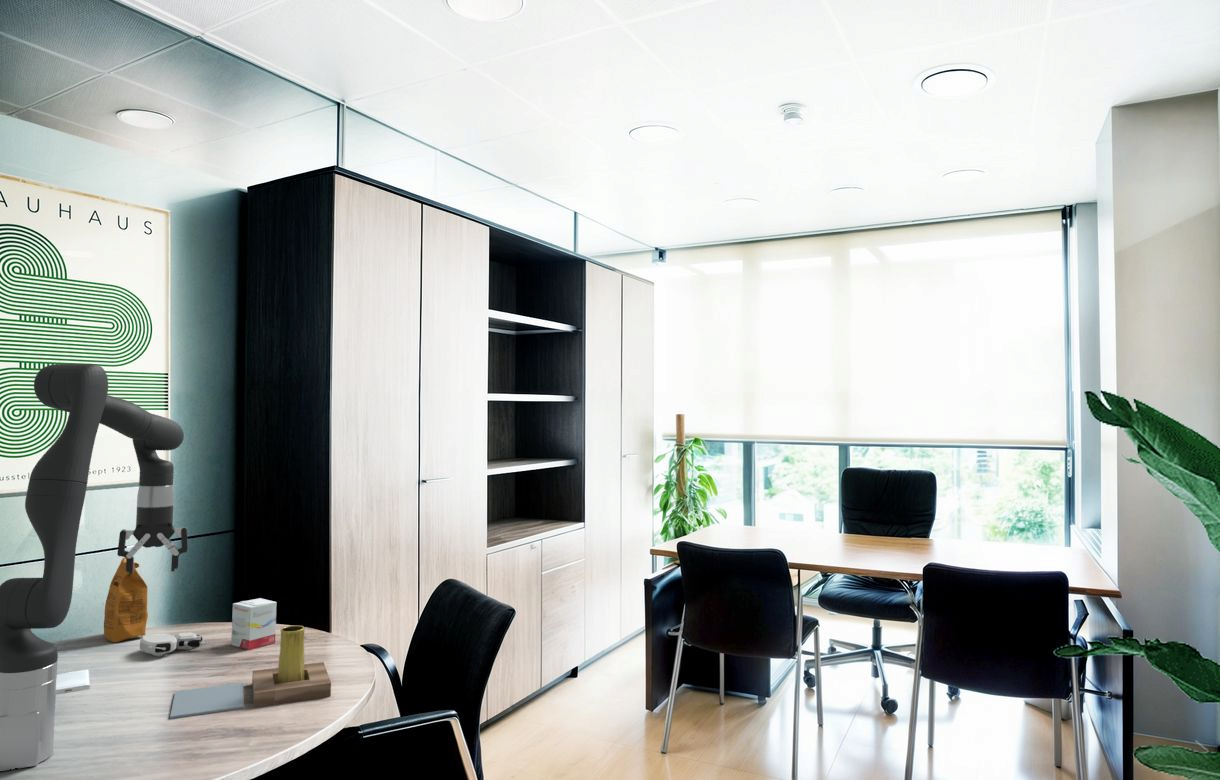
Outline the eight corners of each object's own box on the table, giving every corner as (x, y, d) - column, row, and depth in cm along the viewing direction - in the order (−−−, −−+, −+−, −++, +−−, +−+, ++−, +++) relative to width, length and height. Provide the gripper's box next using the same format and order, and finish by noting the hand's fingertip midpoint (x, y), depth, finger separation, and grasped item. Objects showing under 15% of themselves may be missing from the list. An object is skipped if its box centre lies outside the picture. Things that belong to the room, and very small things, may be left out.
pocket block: (330, 695, 172) (331, 682, 172) (253, 706, 164) (254, 693, 164) (323, 674, 186) (323, 662, 186) (252, 683, 179) (252, 670, 179)
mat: (243, 708, 163) (243, 706, 163) (169, 718, 157) (170, 716, 157) (242, 684, 178) (242, 682, 178) (175, 693, 171) (175, 691, 171)
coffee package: (139, 629, 222) (142, 554, 223) (149, 638, 213) (152, 560, 214) (99, 635, 215) (102, 558, 216) (108, 645, 206) (111, 565, 207)
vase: (296, 683, 179) (298, 623, 180) (309, 689, 175) (311, 628, 176) (271, 689, 175) (273, 628, 175) (284, 696, 171) (286, 633, 171)
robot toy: (194, 644, 212) (133, 650, 201) (196, 627, 212) (136, 633, 202) (207, 654, 203) (144, 661, 192) (209, 637, 203) (146, 644, 193)
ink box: (276, 643, 211) (277, 600, 211) (248, 650, 203) (249, 606, 204) (258, 637, 215) (259, 596, 216) (229, 645, 208) (231, 602, 208)
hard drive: (47, 675, 179) (45, 691, 169) (89, 669, 184) (90, 683, 174) (47, 682, 179) (45, 698, 169) (88, 675, 184) (89, 691, 174)
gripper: (118, 507, 172) (115, 577, 171) (189, 504, 179) (186, 572, 178) (121, 503, 178) (118, 571, 178) (189, 501, 185) (186, 567, 185)
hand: (152, 572), depth 178 cm, fingers open, 8 cm apart
